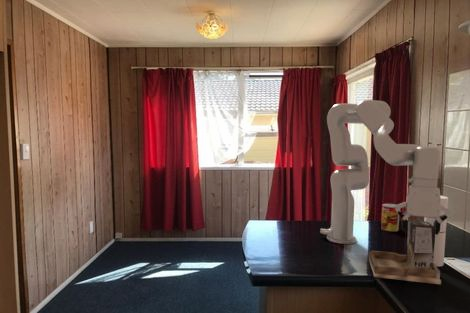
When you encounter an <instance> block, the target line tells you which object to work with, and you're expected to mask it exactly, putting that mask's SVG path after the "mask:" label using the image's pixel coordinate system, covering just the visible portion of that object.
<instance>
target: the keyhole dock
mask: <svg viewBox="0 0 470 313" xmlns="http://www.w3.org/2000/svg"><path fill="white" fill-rule="evenodd" d="M406 258H407V254H400V253H398V252H391V251H382V250H381V251H380V250H370V249H369V250H368V261H369V265H370V268H371V270H372V274H373V277H374V278H380V279H381V278H382V279H391V280H399V281H407V282H416V283H427V284H434V285H442V280H441V279H440V277H441V270H440V269H439V268H438V266H435V264H434V263H433V270H432V269H423V268H413V267H408V266H407V264H406Z"/></svg>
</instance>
